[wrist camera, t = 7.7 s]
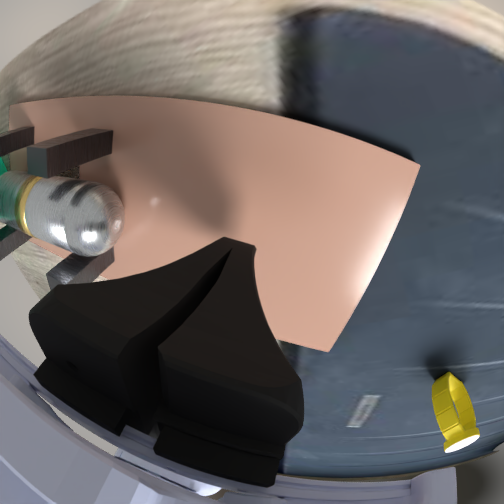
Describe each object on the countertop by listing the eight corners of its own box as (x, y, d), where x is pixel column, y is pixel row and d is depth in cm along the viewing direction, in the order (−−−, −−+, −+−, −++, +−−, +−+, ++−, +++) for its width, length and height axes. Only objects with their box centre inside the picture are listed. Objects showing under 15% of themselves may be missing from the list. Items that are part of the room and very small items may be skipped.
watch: (472, 378, 15) (488, 437, 10) (447, 395, 16) (458, 453, 11) (448, 359, 14) (468, 433, 9) (417, 380, 15) (430, 452, 10)
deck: (415, 162, 9) (420, 165, 9) (328, 344, 15) (328, 352, 14) (15, 103, 11) (9, 105, 11) (25, 232, 17) (20, 235, 17)
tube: (137, 174, 12) (84, 207, 9) (141, 240, 14) (100, 282, 11) (16, 160, 13) (-22, 181, 10) (24, 205, 15) (-10, 229, 12)
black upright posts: (113, 130, 11) (17, 159, 6) (114, 260, 15) (54, 320, 10) (23, 126, 11) (-43, 150, 7) (31, 225, 15) (-20, 262, 11)
